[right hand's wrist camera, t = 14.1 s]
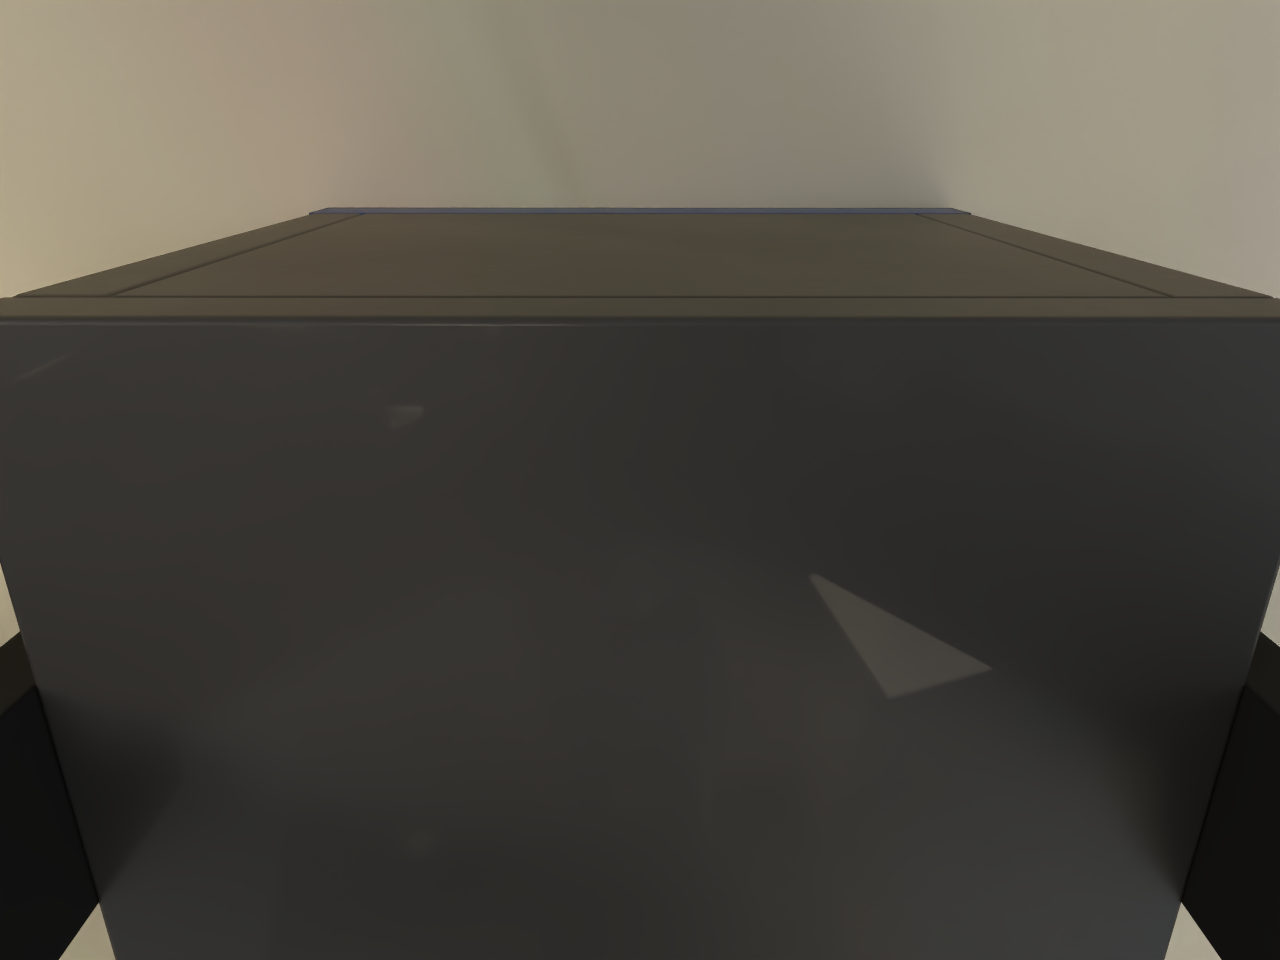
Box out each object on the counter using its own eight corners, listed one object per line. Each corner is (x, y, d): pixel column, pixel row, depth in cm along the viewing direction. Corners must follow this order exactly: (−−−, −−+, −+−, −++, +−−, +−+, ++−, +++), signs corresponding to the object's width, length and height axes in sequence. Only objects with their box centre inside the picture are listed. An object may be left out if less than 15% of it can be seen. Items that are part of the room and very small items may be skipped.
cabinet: (863, 925, 23) (1017, 1472, 14) (415, 925, 23) (262, 1473, 14) (952, 208, 16) (1357, 316, 7) (328, 207, 16) (-78, 315, 7)
